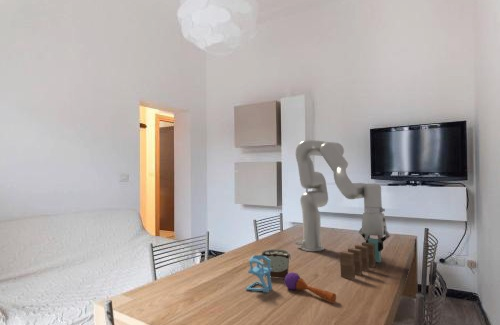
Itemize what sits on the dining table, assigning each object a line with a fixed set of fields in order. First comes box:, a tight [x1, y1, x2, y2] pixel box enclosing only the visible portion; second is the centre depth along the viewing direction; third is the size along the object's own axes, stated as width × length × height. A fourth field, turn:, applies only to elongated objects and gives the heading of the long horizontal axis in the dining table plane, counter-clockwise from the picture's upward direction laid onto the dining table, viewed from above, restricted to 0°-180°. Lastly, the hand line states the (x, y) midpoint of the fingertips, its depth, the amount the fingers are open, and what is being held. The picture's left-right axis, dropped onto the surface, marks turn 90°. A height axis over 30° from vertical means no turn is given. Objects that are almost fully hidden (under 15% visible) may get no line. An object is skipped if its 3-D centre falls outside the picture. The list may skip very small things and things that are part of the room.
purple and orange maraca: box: [284, 272, 337, 305], centre depth 103 cm, size 6×6×20 cm
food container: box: [261, 249, 292, 279], centre depth 122 cm, size 12×6×10 cm, turn 71°
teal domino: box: [368, 237, 382, 263], centre depth 136 cm, size 2×5×10 cm, turn 44°
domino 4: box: [361, 241, 377, 268], centre depth 131 cm, size 2×5×10 cm, turn 44°
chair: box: [245, 254, 273, 293], centre depth 109 cm, size 8×8×12 cm
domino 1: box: [339, 250, 356, 281], centre depth 118 cm, size 2×5×10 cm, turn 44°
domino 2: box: [347, 247, 363, 276], centre depth 122 cm, size 2×5×10 cm, turn 44°
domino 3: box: [354, 244, 370, 272], centre depth 127 cm, size 2×5×10 cm, turn 44°
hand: (374, 249), depth 136 cm, fingers closed on teal domino, 4 cm apart
